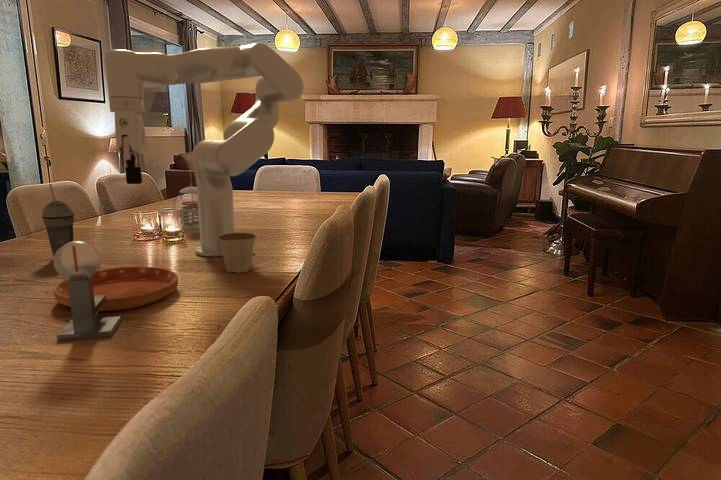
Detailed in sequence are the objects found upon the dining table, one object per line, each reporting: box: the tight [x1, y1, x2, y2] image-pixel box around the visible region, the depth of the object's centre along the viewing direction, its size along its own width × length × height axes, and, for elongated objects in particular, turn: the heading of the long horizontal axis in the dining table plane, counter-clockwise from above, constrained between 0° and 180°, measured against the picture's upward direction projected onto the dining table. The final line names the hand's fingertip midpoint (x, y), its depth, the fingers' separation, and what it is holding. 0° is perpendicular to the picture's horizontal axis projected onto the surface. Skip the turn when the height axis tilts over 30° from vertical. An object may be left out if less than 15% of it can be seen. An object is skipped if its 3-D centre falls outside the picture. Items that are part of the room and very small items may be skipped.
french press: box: [171, 157, 200, 234], centre depth 164 cm, size 10×12×25 cm
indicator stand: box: [52, 240, 122, 342], centre depth 81 cm, size 8×8×16 cm
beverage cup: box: [41, 183, 75, 258], centre depth 125 cm, size 7×7×20 cm
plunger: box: [96, 302, 105, 316], centre depth 85 cm, size 1×6×1 cm, turn 13°
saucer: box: [53, 266, 179, 312], centre depth 99 cm, size 23×23×4 cm
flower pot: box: [217, 232, 257, 274], centre depth 118 cm, size 9×9×9 cm
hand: (134, 183), depth 116 cm, fingers closed
